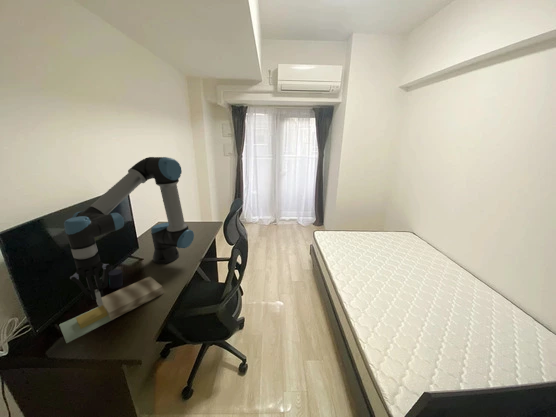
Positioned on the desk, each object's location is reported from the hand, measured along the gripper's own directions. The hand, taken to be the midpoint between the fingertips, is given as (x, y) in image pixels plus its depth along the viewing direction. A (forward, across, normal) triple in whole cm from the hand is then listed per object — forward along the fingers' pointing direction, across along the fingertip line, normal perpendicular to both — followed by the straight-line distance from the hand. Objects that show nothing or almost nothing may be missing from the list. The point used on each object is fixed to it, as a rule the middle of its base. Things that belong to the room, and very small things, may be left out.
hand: (100, 304), depth 94 cm
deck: (+5, -12, 0) cm, 13 cm away
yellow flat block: (+5, +4, 0) cm, 6 cm away
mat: (+5, +6, 0) cm, 8 cm away
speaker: (+6, -11, -19) cm, 23 cm away
